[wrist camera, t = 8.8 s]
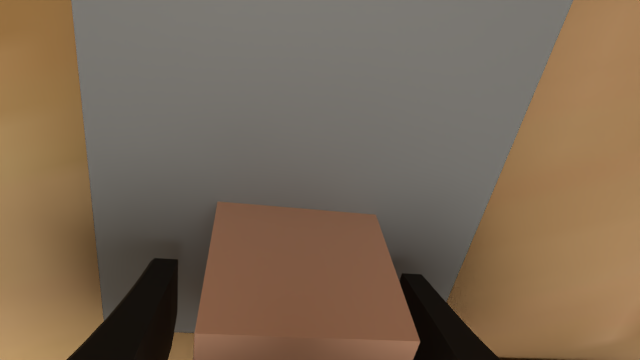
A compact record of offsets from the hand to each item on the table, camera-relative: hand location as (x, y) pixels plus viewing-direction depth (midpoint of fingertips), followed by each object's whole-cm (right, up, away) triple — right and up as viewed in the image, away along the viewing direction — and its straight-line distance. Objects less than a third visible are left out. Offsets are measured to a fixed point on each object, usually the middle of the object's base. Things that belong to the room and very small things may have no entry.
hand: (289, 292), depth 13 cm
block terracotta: (0, 0, +1) cm, 1 cm away
